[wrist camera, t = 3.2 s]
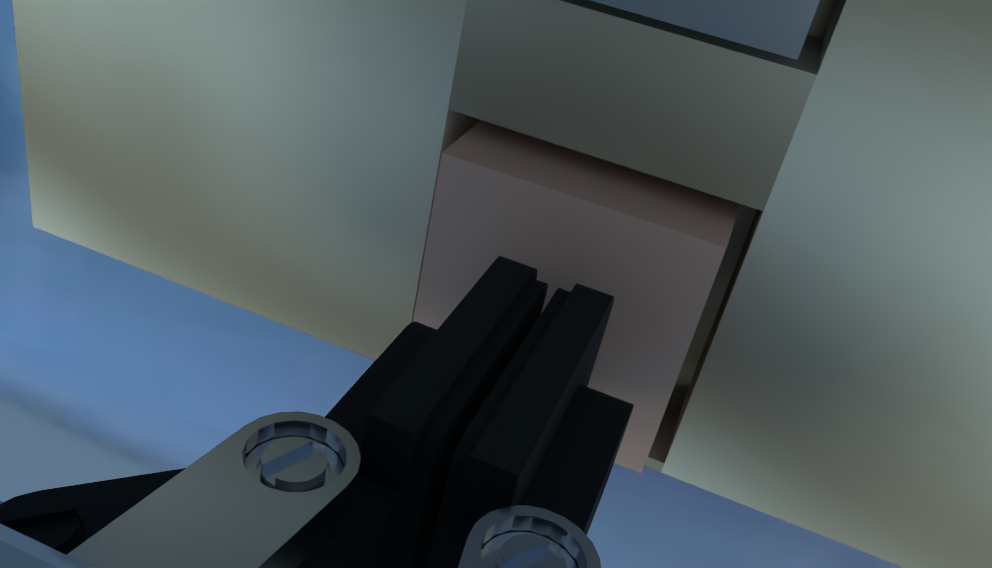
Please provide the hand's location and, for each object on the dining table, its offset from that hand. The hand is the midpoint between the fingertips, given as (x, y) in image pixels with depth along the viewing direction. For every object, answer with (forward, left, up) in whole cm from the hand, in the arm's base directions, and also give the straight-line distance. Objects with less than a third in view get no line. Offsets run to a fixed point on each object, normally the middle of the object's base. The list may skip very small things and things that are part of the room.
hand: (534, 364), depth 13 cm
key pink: (0, 0, -2) cm, 2 cm away
